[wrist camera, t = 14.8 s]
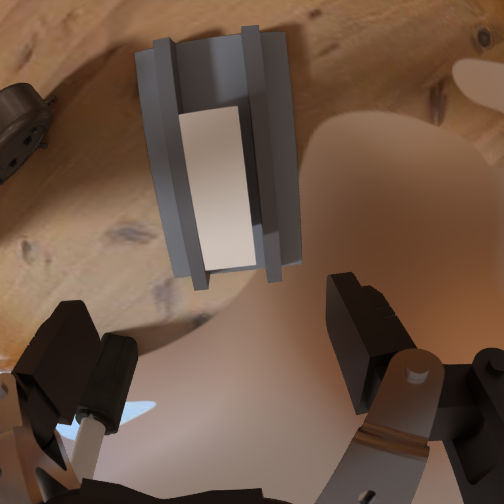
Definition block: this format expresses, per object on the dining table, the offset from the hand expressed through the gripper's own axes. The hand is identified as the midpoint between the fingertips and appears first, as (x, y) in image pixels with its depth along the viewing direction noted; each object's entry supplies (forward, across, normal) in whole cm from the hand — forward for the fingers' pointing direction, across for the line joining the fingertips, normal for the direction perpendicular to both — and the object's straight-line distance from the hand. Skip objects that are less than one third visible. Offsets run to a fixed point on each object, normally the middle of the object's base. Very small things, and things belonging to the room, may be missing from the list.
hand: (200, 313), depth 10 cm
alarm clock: (+23, +20, -8) cm, 32 cm away
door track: (+23, 0, -1) cm, 23 cm away
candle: (+23, +18, +22) cm, 37 cm away
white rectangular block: (+22, 0, 0) cm, 22 cm away
